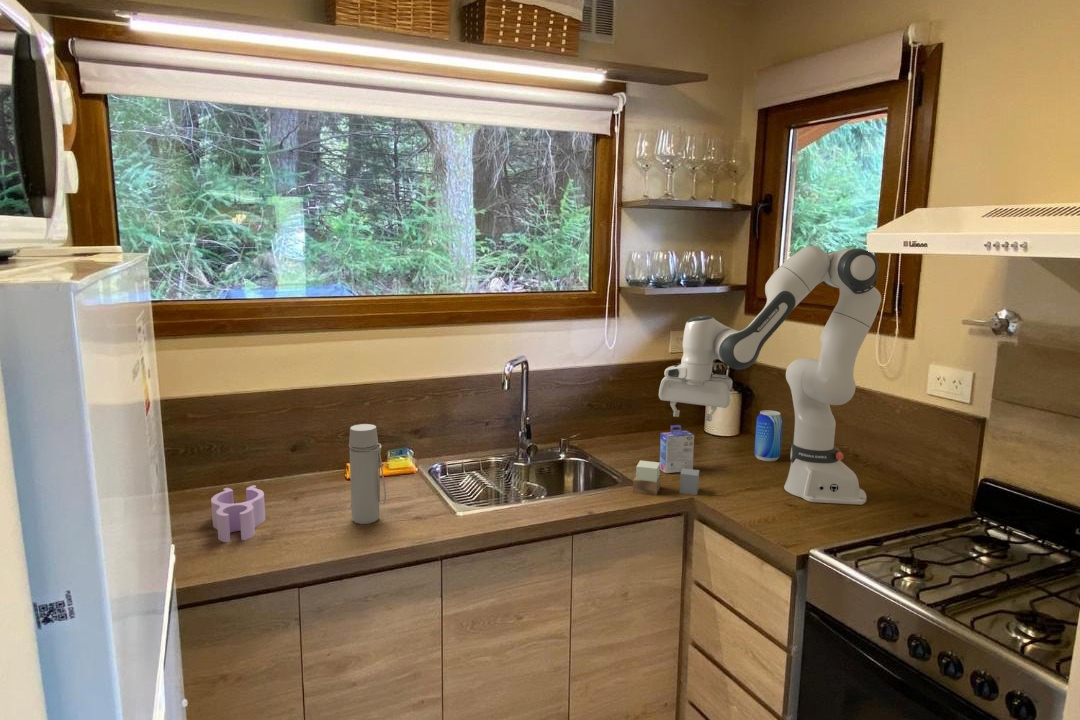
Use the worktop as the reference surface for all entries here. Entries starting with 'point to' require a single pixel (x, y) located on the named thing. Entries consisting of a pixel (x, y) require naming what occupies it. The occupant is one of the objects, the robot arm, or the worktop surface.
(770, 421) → the beer can
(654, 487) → the tower base
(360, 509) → the water bottle
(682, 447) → the ink cartridge box
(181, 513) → the worktop surface
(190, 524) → the worktop surface
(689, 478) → the grey block
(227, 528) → the clip
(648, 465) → the cream square block
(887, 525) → the worktop surface
